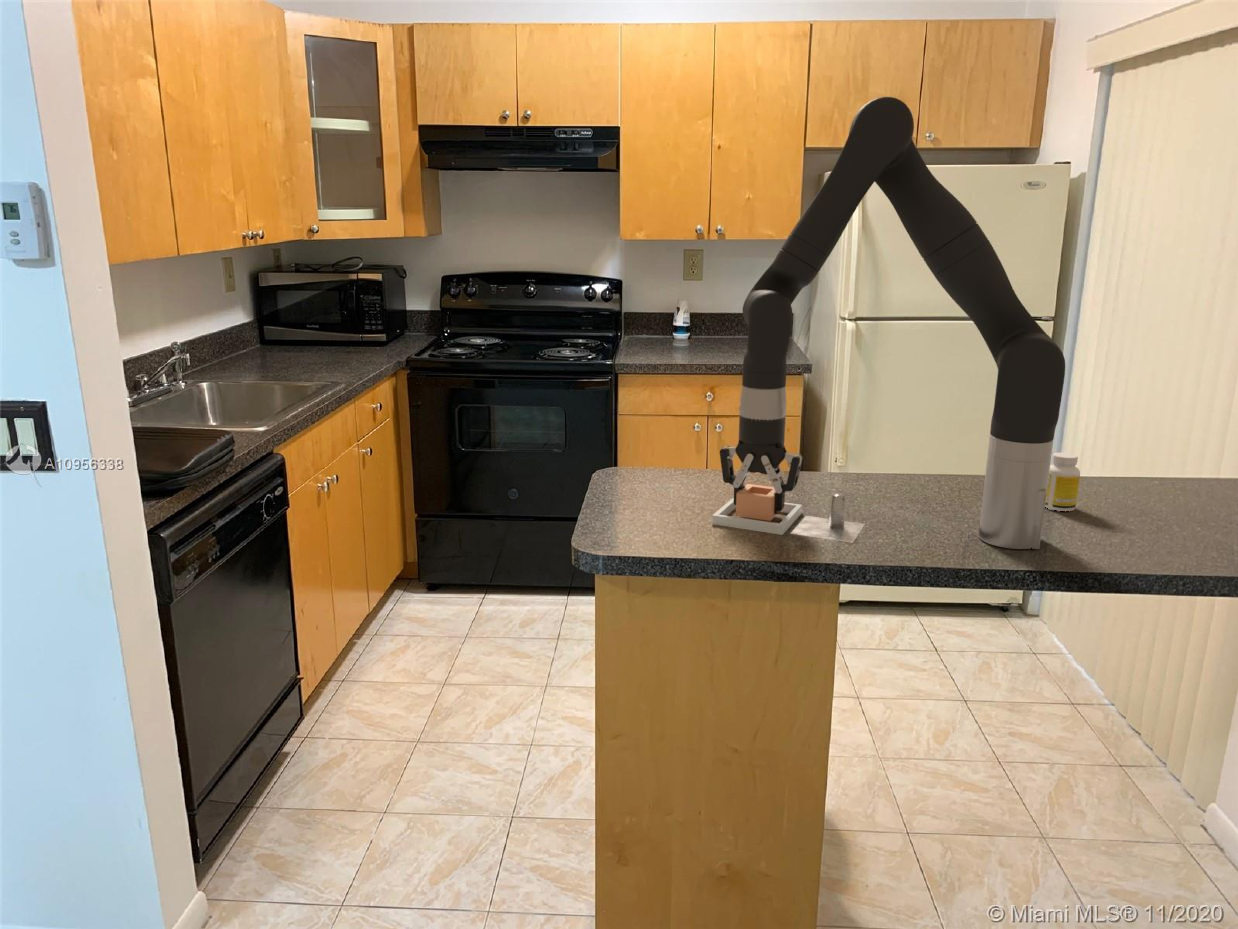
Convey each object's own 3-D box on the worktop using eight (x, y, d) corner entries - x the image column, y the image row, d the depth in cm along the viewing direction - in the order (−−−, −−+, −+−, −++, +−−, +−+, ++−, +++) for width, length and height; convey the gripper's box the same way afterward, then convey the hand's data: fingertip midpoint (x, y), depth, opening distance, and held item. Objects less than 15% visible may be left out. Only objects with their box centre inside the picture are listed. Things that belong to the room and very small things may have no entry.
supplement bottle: (1081, 509, 164) (1089, 456, 162) (1062, 514, 162) (1069, 460, 159) (1054, 501, 169) (1061, 449, 166) (1035, 506, 166) (1042, 453, 164)
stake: (864, 529, 154) (867, 492, 152) (852, 548, 145) (855, 509, 143) (805, 521, 158) (807, 484, 156) (790, 539, 149) (792, 501, 148)
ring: (780, 510, 157) (781, 488, 156) (770, 521, 152) (771, 497, 151) (746, 505, 160) (747, 483, 159) (735, 515, 155) (736, 493, 154)
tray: (801, 518, 159) (802, 504, 159) (782, 540, 149) (783, 525, 148) (735, 509, 164) (735, 495, 164) (712, 529, 154) (712, 515, 153)
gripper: (811, 412, 152) (805, 509, 156) (728, 404, 158) (725, 498, 162) (799, 421, 145) (794, 523, 150) (713, 413, 151) (710, 510, 156)
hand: (758, 509), depth 156 cm, fingers closed on ring, 5 cm apart
